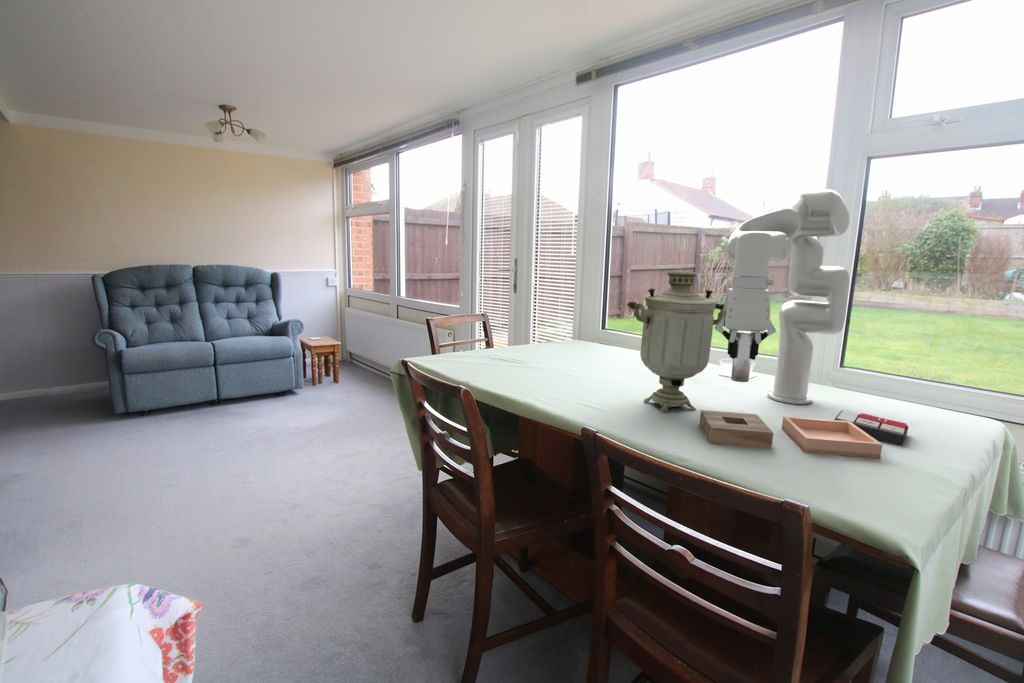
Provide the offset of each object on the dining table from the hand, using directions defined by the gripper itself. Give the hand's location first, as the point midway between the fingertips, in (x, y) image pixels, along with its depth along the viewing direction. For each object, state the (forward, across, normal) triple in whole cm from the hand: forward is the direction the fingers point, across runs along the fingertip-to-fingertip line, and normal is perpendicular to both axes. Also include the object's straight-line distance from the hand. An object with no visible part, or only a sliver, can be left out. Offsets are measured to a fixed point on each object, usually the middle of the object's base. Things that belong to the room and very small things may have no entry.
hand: (742, 357), depth 124 cm
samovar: (+21, +13, -24) cm, 35 cm away
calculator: (+21, -36, -11) cm, 43 cm away
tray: (+20, -22, 0) cm, 30 cm away
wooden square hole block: (+20, 0, 0) cm, 20 cm away
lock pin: (+6, 0, 0) cm, 6 cm away
